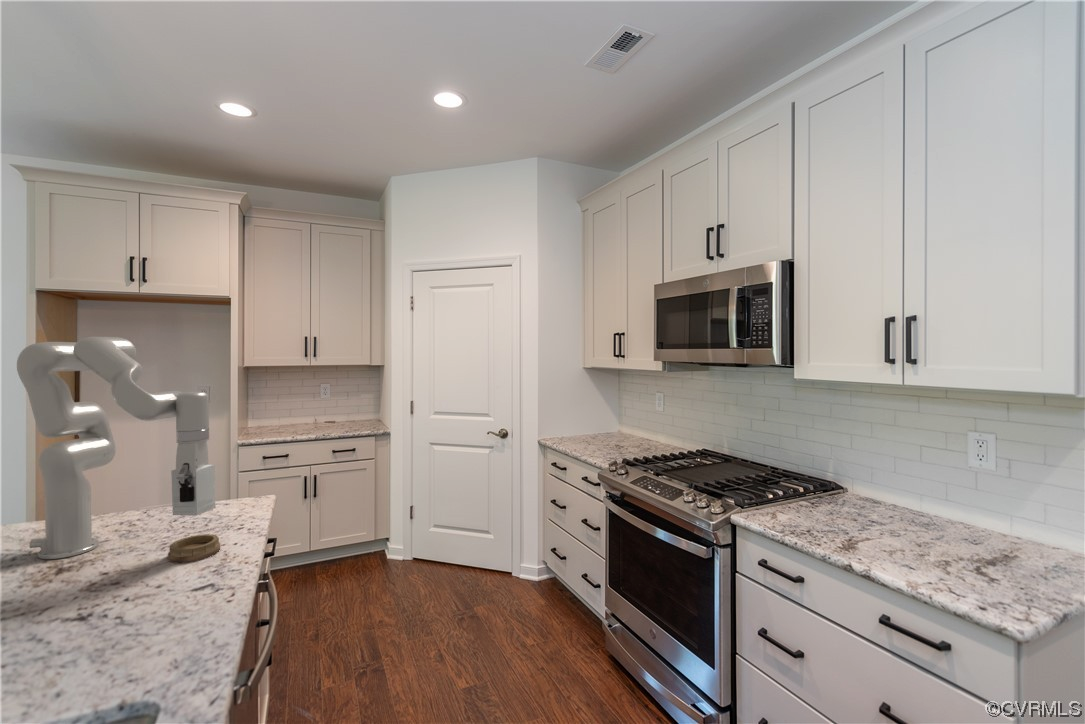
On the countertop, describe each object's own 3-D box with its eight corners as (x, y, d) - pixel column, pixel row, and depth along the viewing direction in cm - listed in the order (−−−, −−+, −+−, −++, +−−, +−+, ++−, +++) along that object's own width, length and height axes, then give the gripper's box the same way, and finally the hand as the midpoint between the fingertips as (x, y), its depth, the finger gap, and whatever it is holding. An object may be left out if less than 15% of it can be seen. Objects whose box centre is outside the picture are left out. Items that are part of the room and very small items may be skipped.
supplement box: (216, 507, 141) (215, 464, 141) (196, 516, 134) (195, 470, 134) (192, 507, 142) (191, 463, 142) (171, 515, 135) (170, 470, 134)
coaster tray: (159, 565, 131) (159, 552, 131) (179, 548, 142) (179, 536, 142) (211, 560, 134) (211, 547, 134) (226, 543, 146) (226, 532, 146)
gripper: (190, 431, 145) (191, 489, 145) (162, 442, 128) (164, 507, 129) (219, 430, 147) (220, 487, 147) (196, 440, 130) (197, 504, 131)
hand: (194, 496), depth 138 cm, fingers closed on supplement box, 9 cm apart
